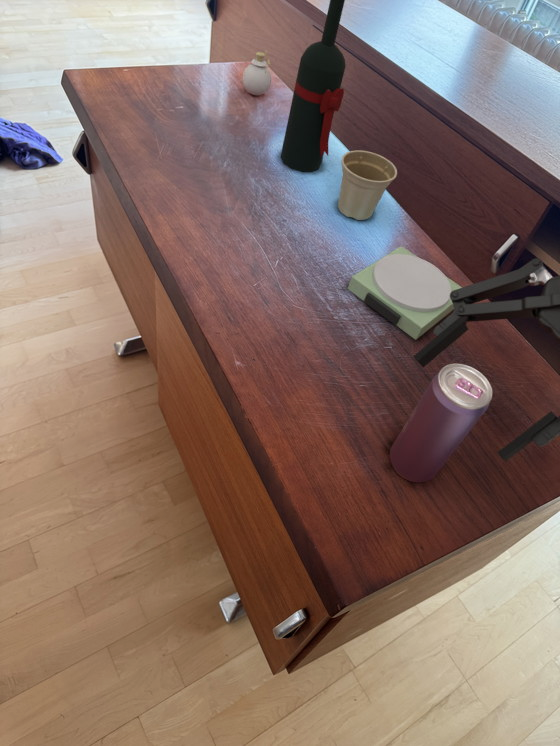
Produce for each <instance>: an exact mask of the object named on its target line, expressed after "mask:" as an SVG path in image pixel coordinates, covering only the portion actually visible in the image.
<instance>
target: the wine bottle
mask: <svg viewBox="0 0 560 746" xmlns="http://www.w3.org/2000/svg"><path fill="white" fill-rule="evenodd" d="M345 2H346V0H329V4H328V9H327V13H326V18H325V22H324V27H323V31H322V36H321V40H320V41H316V42H313V43H312V44H310V45H309V46H307V48H306V49H305V50H304V52H303V53H302V55H301V57H300V61H299V65H298V71H297V75H296V80H295V84H294V89H293V93H292V99H291V104H290V108H289V113H288V119H287V124H286V127H285V134H284V138H283V143H282V148H281V153H280V156H279V157H280V160H281V161H282V164H283V165H285V166H287V167H288V168H290V169H291V170H294V171H297V172H300V173H314V172H316V171H319V170H320V168H321V166H322V163H323V158H324V154H325V155H326V156H327V157H329V140H330V135H331V129H332V124H333V119H334V115H335V112H338V111H339V110H340V108H341V106H342V102H343V98H344V94H345V89H344V88H342V82H343V78H344V75H345V70H346V67H347V65H346V64H347V63H346V59H345V56H344V53H342V51H341V50H340V49H339V47H338V46H337V45H336V39H337V35H338V31H339V27H340V23H341V18H342V14H343V10H344V6H345Z"/></svg>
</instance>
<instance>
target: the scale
mask: <svg viewBox="0 0 560 746" xmlns="http://www.w3.org/2000/svg"><path fill="white" fill-rule="evenodd" d="M459 288H463V286H460V285H459V284H458V283H456V282H455V281H453V280H452V279H451V278H449V277H447V276H446V275H445V274H444V272H443V271H442V270H440V269H439V268H438V267H437V266H435V265H434V264H432V263H431V262H429V261H427V260H425V259H424V258H422V257H421V258H420V257H418V256H416V255H415V254H414V253H413V252H411V251H410V250H408V249H406V248H405V247H403V246H402V245H400V246H398V247H397V248H396V249H394V250H392V251H391V252H388V253H387V254H385V255H384V256H383V257H381V258H379V259H377V260H376V261H375V262H373V263H371V264H370V265H367V266H366V267H365V268H363V269H362V270H360V271H358V272H356V273H355V274H354V275H352V276H351V278H350V281H349V284H348V286H347V290H348V291H349V292H351V293H352V294H354V295H355V296H356V297H358V298H359V299H360V300H361V301H363V302H364V303H365V304H366V305H367V306H369V307H370V308H371V309H373V310H374V311H375V312H376V313H378V314H380V316H382V317H383V318H384V319H386V320H387V321H389V322H390V323H391V324H393V325H394V326H396V327H398V328H399V329H400V330H402V331H403V332H404V333H406V334H407V335H408V336H410V337H411V338H412V339H414V340H418V339H419V338H420V337H422V336H423V335H424V334H425V333H426V332H428V331H429V330H430V329H431V328H432V327H434V326H435V325H436V324H438V323H439V322H440V321H441V320H442V319H444V318H445V317H446V316H448V315H449V314H451V313H452V312H453V311H454V305H453V303H452V300H451V298H450V293H451V292H452V291H454V290H456V289H459Z"/></svg>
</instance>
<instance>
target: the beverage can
mask: <svg viewBox="0 0 560 746" xmlns="http://www.w3.org/2000/svg"><path fill="white" fill-rule="evenodd" d="M493 393H494V392H493V387H492V385H491V382H490V381H489V380H488V378H487V377H486V376H485V375H484V374H483V373H482V372H481V371H479V370H478V369H476V368H474V367H472V366H471V365H470V366H469V365H467V364H464V363H458V362H457V363H455V362H454V363H449V364H447V365H444V366H443V367H441V368H440V370H439V371H438V372H437V373H435V374H434V377H433V378H432V380H431V381H430V383H429V384H428V386H427V387H426V390H425V391H424V393H423V394H422V396H421V397H420V399H419V401H418V403H417V404H416V406H415V407H414V409H413V410H412V412H411V414H410V415H409V416H408V419H407V420H406V422H405V424H404V425H403V427H402V429H401V431H400V432H399V433H398V435H397V436H396V439H395V440H394V442H393V444H391V447H390V449H389V460H390V463H391V465H392V468H393V469H394V471H395V472H396V473H397V475H399V476H400V477H401V478H403V479H404V480H406V481H409V482H412V483H425V482H429V481H431V480H433V479H434V478H435V477H436V476H437V474H439V472H440V471H441V469H442V468H443V467H444V466H445V464H446V463H447V462H448V460H449V459H450V458H451V456H452V455H453V454H454V453H455V451H456V450H457V448H458V447H459V446H460V445H461V443H462V442H464V439H465V438H466V437H467V436H468V434H469V433H471V430H473V428H474V427H475V426H476V424H477V423H478V421H479V420H480V419H481V418H482V416H483V415H484V414H485V412H487V410H488V408H489V406H490V402H491V401H492V399H493Z"/></svg>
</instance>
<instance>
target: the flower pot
mask: <svg viewBox="0 0 560 746" xmlns="http://www.w3.org/2000/svg"><path fill="white" fill-rule="evenodd" d="M340 163H341V168H342V169H341V172H342V175H341V176H342V177H341V184H340V190H339V197H338V202H337V209H338V211H339V212H340V213H341V214H342V215H344V216H345V217H347V218H352V219H354V220H357V221H365V220H368V219H370V218H371V217H372V215H373V214H374V211H375V210H376V208H377V206H378V204H379V202H380V201H381V198H382V196H383V195H384V194H385V191H386V189H387V187H389V185H391V183H392V181H394V180H395V179H396V177H398V169H397V167H396V166H395V164H394V163H393V162H392V161H390V160H389V159H388V158H386V157H384V156H383V155H380V154H378V153H376V152H371V151H368V150H363V149H359V150H358V149H357V150H351V151H348V152H346V153H344V154H343V155H342V157H341V162H340Z"/></svg>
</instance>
